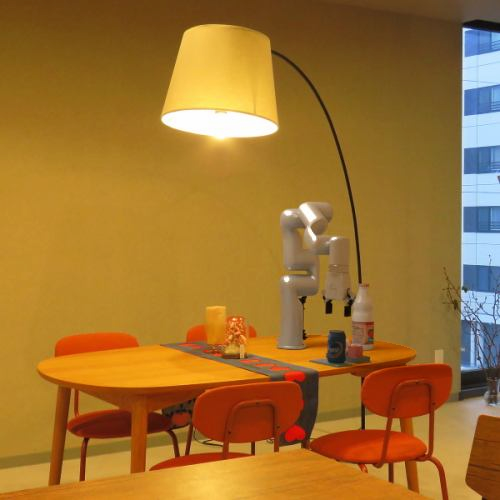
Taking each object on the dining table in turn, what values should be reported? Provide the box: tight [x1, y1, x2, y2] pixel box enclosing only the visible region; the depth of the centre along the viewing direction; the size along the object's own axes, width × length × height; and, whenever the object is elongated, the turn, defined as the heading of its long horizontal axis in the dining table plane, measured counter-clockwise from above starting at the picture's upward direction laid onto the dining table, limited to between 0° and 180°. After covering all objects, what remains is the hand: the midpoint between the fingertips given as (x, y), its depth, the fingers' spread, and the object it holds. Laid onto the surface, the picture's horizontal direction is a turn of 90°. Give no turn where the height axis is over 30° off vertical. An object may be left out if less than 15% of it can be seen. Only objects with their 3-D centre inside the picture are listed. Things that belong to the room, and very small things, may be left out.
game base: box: [325, 352, 371, 364], centre depth 300 cm, size 16×8×2 cm, turn 39°
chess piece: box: [298, 296, 308, 341], centre depth 361 cm, size 8×8×20 cm
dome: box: [346, 337, 351, 354], centre depth 303 cm, size 8×8×6 cm
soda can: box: [326, 329, 347, 364], centre depth 288 cm, size 7×7×12 cm
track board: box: [309, 358, 353, 368], centre depth 291 cm, size 15×8×1 cm, turn 39°
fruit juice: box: [351, 283, 375, 351], centre depth 330 cm, size 9×9×28 cm
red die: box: [348, 343, 364, 357], centre depth 297 cm, size 4×4×4 cm
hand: (338, 315), depth 288 cm, fingers open, 9 cm apart
